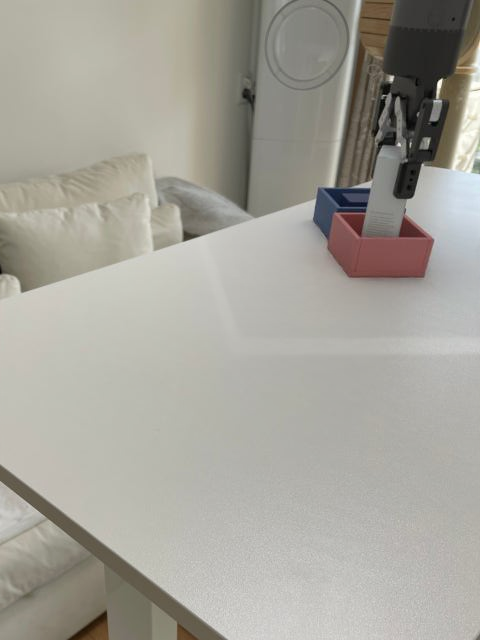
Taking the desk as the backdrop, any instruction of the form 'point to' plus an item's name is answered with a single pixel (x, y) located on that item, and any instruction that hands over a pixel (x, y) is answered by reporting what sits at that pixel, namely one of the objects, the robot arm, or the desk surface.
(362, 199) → the navy block
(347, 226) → the rose bin
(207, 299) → the desk surface
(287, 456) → the desk surface
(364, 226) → the cosmetic box
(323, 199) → the blue bin
